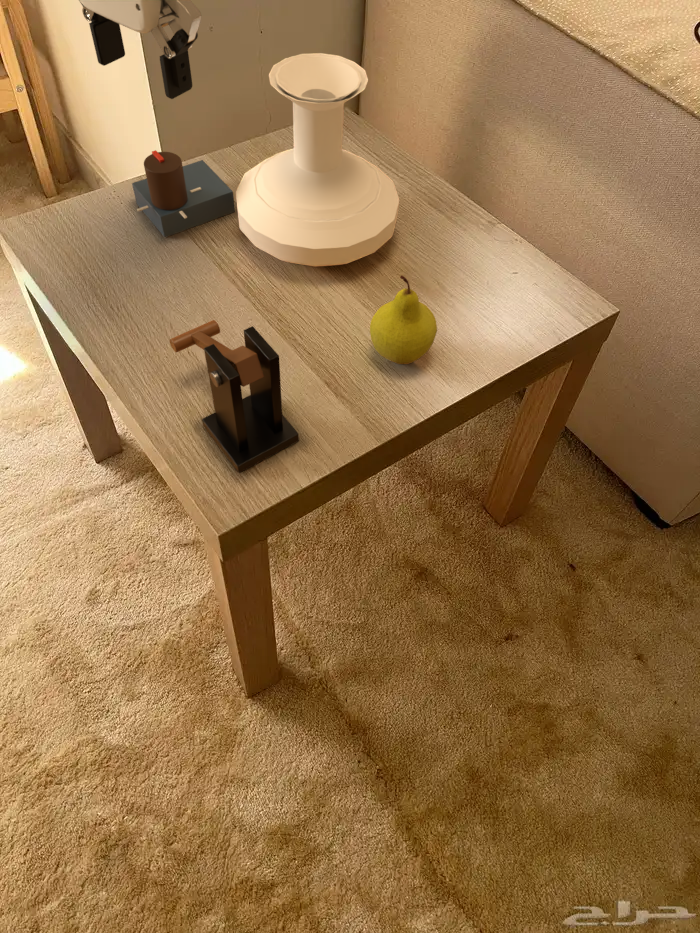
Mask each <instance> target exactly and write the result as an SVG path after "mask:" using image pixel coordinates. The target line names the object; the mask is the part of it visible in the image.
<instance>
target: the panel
mask: <svg viewBox="0 0 700 933" xmlns="http://www.w3.org/2000/svg"><path fill="white" fill-rule="evenodd" d="M182 166H183V172H184V178H185V184H186V191H187V197H188V199H187V202H186V204H185V205H183V206H182V207H180V208H178V209H174V210H163V209H159V208H157V207H155V206H154V205H153V203H152V201H151V196H150V192H149V187H148V182H147V178H144V179H141V180H138V181H134V182H132V183H131V186H132V190H133V194H134V195H133V196H134V198H135V203H136V206H138V207H139V208H136V210H137V212H141V211H142V212H143V214H144V215H145V216H146V217H147V218H148V219H149V221H150V222H151V223H152V224H153V225H154V227H155V229H157V230H158V232H159V233H160V234H161V235H162V236H163V238H168V237H171V236H173V235H176V234H179V233H181V232H183V231H186V230H189V229H191V228H195V227H197V226H200V225H202V224H205V223H209V222H211V221H214V220H216V219H219V218H222V217H224V216H227V215H230V214H233V213H235V212H236V209H235V199H234V191H233V190H232V189H231V188H230V187H229V186H228V185H227V184H226V182H224V180H222V179H221V177H219V175H218V174H217V173H216V172H215V171H214V170H213V169H212V168H211V167H210V165H208V163H206V162H205V161H204V160H203V159H200V160H197V161H194V162H192V163H189V164H186V165H182Z"/></svg>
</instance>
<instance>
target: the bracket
mask: <svg viewBox="0 0 700 933" xmlns="http://www.w3.org/2000/svg"><path fill="white" fill-rule="evenodd" d="M243 338H244V346H245V347H247V348H248V349H250V350H252V351H253V352H255V353H257V356H258V359H259V362H260V365H261V368H262V372H263V375H264V377H263V378H261V379H259V380H257V381H255V382H252V383H250V384H248V385H249V392H250V393H249V394H250V395H248V396H246V397H244V398H243V394H242V393H243V392H242V386H241V384H240V376H239V374H238V373H237V371H236V370H235V369H234V368H233V367H232V365H231V364H230V363H229V362H228V361H227V359H226V358H225V357H224V356H223V355H222V353H221V352H220V351H219V350H218V348H217V347H216V346H215V345H214V344H212V345H210V346H208V347H205V348H204V350H203V351H204V357H205V358H204V359H205V362H206V369H207V374H208V380H209V386H210V391H211V396H212V402H213V408H214V412H213V413H211V414H209V415H207V416H205V417H203V418H201V422H202V427H203V428H204V429H205V431H206V432H207V433H208V435H209V436H210V438H212V440H213V441H214V442H215V444H216V445H217V447H218V448H219V449H220V450H221V452H222V453H223V455H224V456H225V457H226V458H227V460H228V461H229V462H230V463H231V465H232V467H233V468H234V469H235V471H236V472H237V473H238V474H241V473H242V472H244V471H246V470H248V469H250V468H251V467H253V466H255V465H257V464H258V463H260V462H262V461H264V460H267V459H269V458H270V457H272V456H274V455H275V454H277V453H279V452H281V451H283V450H285V449H287V448H288V447H290V446H292V445H295V444H296V443H297V442H299V441H300V437H299V436H300V435H299V433H298V432H297V430H296V429H295V428H294V426H293V425H292V424H291V423H290V422H289V421H288V419H287V418H286V417H285V416H284V415H283V404H282V403H283V402H282V387H281V367H280V366H281V364H280V355H279V354H278V352H276V350H275V349H274V348H273V347H272V346H271V345H270V344H269V343H268V341H266V340H265V338H264V337H263V336H262V335H261V334H260V332H258V330H257V329H256V328H255V327H254V326H253V325H252V326H250V327H248V328H245V329H243Z"/></svg>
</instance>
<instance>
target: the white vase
mask: <svg viewBox="0 0 700 933" xmlns="http://www.w3.org/2000/svg"><path fill="white" fill-rule="evenodd" d="M268 79H269V85H270V86H271V87H273V89H275V90H276V91H277V92H278V93H279V94H280V95H282V96H283V97H285V98H286V99H287V100H289V101H291V102H292V126H293V130H292V131H293V132H292V133H293V148H290V149H289V148H288V149H286V150H284V151H280V152H277V153H275V154H273V155H272V156H270V157H267V158H266V159H265V158H264V160H262V161H261V162H259V163H258V164H256V165H255V166H253V167H252V168H250V169H249V170H247V171H246V172H245V173H244V174H243V176H242V178H241V180H240V182H239V184H238V186H237V188H236V191H235V199H236V208H237V209H236V210H237V217H238V218H237V219H238V227H239V230H240V231H241V232H242V234H244V235H245V236H246V238H247V239H248V240H249V242H251V243H252V245H253V246H254V247H256V248H257V249H259V250H260V251H263V252H264V253H267V254H269V255H270V256H272V257H274V258H275V259H278V260H280V261H282V262H287V263H291V264H296V265H303V266H308V267H314V268H317V267H329V266H341V265H347V264H349V263H352V262H354V261H357V260H360V259H361V258H364V257H366V256H369V255H372V254H374V253H376V252H377V251H378V250H379V249H381V247H382V246H383V245H385V244H386V243H387V242H388V241H389V240H390V239H391V238H392V237H394V232H395V228H396V225H397V221H398V215H399V209H400V208H399V206H400V198H399V194H398V191H397V188H396V185H395V181H394V180H392V178H390V177H389V176H388V175H387V174H386V173H385V172H383V171H382V170H381V169H380V168H379V167H378V166H376V165H375V164H374V163H371V162H369V161H368V160H367V159H365V158H363V157H361V156H359V155H357V154H355V153H353V152H351V151H348V150H346V149H343V136H344V135H343V134H344V130H343V129H344V110H345V103H346V102H348V101H350V100H351V99H353V98H355V97H356V96H358V95H359V94H360V93H362V92H363V91H364V90H366V87H367V84H368V82H369V78H368V75H367V71H366V69H365V68H363V67H362V66H360V65H359V64H358V63H356V62H355V61H353V60H351V59H348V58H347V57H344V56H342V55H336V54H330V53H323V52H317V53H313V52H311V53H299V54H296V55H292V56H289V57H285V58H284V59H282V60H281V61H279V62H276V63H275V64H273V65H272V67H271V69H270V71H269V73H268Z"/></svg>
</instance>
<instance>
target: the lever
mask: <svg viewBox="0 0 700 933" xmlns="http://www.w3.org/2000/svg"><path fill="white" fill-rule="evenodd" d="M220 333H221V329H220V325H219V323H218V322H217V321H216V320H215V319H212V320H210V321H207V322H206V323H203V324H201V325H198V326H197V327H193V328H192V329H189V330H187V331H185V332H182V333H180V334H178V335H176V336H173V337H172V338H170V339H169V344H170V347H171V348H172V350H173V351H174V352H175V353H179V352H181V351H184V350H186V349H188V348H190V347H193V346H197V347H198V348H200V349H202V350H203V351H204V348H205V347H208V346H210V345H212V344H214V345H215V346H216V347H217V348H218V350H219V351H220V352H221V353H222V355H223V356H224V357H225V358H226V359H227V361H228V362H229V363H230V364H231V365H232V367H233V368H234V369H235V370H236V371H237V373H238V374H239V376H240V384H241V387H243V388H244V387H246V386H248V385H249V384H250V383H252V382H255V381H257V380H259V379H261V378H263V377H264V375H263V372H262V368H261V365H260V362H259V359H258V356H257V353H255V352H253V351H252V350H250V349H248V348H247V347H245V345H241V346H239V347H236V348H234V349H231V348H230V347H228V346H226V345H224V344H223V343H222V342H219V341H218V340H216V339H215V338H213V337H214V336H217V335H219V334H220Z"/></svg>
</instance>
